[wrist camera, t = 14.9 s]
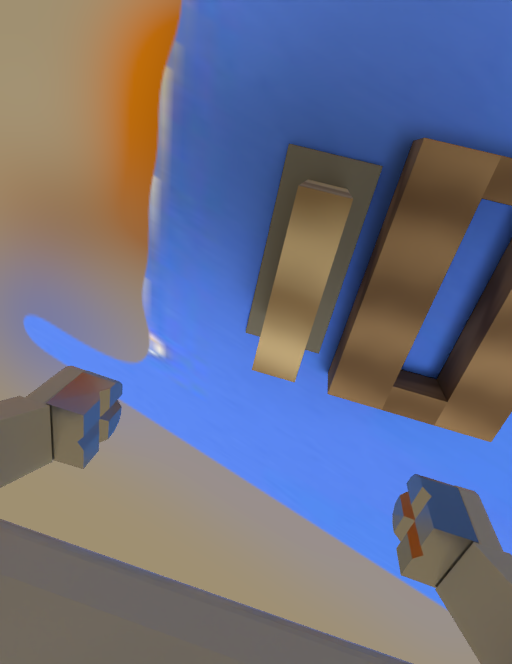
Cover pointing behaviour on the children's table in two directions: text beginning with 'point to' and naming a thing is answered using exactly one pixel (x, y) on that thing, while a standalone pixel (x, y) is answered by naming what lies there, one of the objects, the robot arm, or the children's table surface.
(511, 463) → the children's table surface
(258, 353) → the oak cover plate
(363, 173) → the grey flat slab
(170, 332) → the children's table surface
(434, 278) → the walnut case
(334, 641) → the robot arm
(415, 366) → the children's table surface
